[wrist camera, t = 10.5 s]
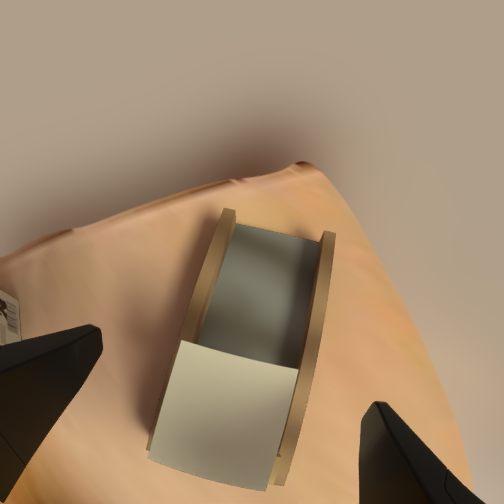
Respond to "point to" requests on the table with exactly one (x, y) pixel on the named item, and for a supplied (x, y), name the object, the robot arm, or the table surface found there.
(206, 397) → the block
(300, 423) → the track
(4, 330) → the coffee box
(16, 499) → the table surface
